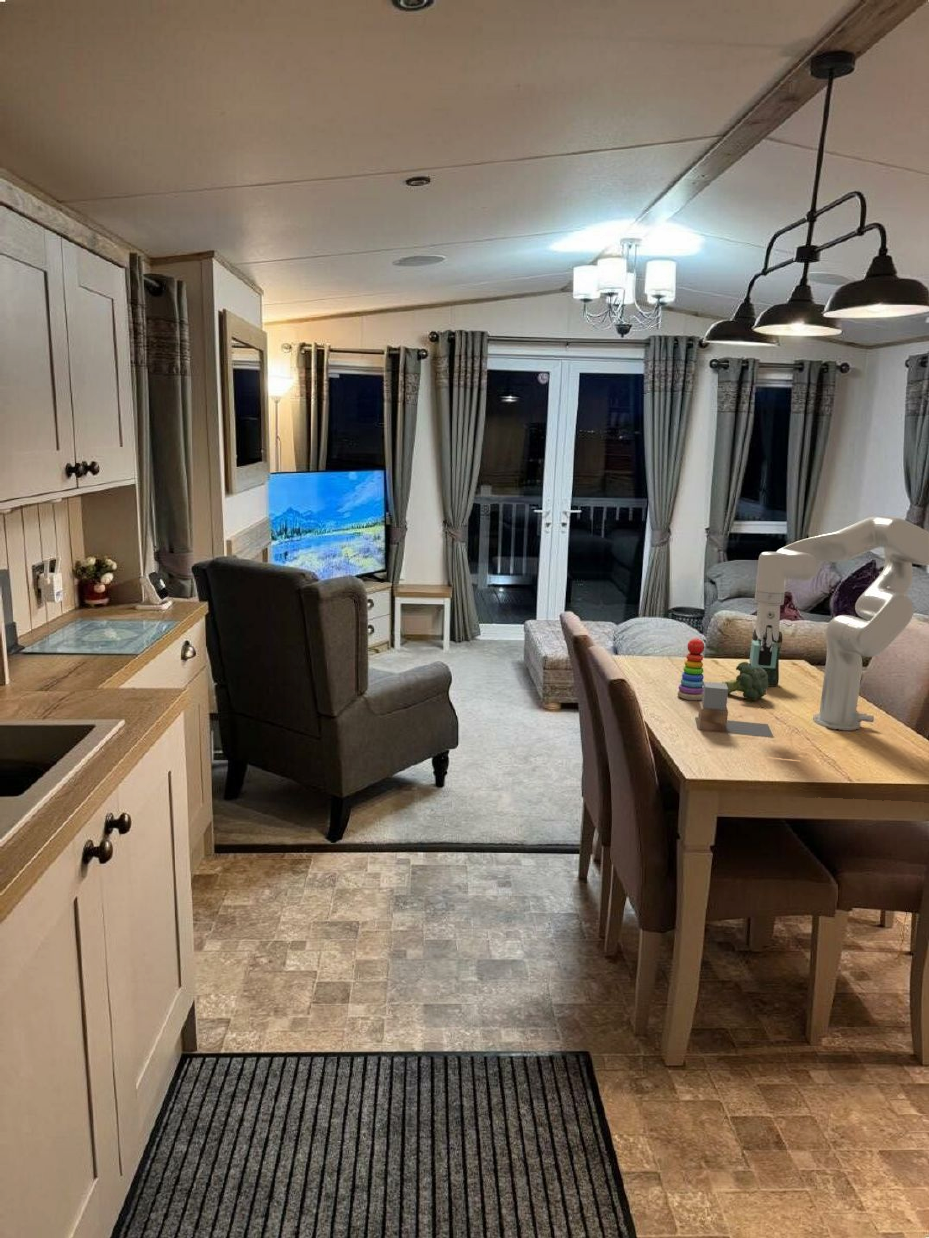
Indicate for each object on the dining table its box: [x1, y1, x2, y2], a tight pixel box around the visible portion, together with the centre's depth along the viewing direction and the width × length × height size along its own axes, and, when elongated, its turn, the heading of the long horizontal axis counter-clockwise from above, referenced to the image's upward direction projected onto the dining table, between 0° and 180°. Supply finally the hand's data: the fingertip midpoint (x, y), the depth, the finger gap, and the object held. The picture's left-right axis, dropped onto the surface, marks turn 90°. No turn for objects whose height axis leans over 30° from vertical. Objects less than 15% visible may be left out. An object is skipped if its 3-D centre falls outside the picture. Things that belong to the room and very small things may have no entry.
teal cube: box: [748, 640, 777, 668], centre depth 236 cm, size 6×6×6 cm
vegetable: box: [721, 661, 769, 702], centre depth 270 cm, size 12×13×15 cm
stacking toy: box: [677, 638, 705, 701], centre depth 266 cm, size 8×8×19 cm
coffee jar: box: [751, 628, 783, 687], centre depth 286 cm, size 10×8×19 cm
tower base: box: [698, 701, 729, 733], centre depth 237 cm, size 7×7×6 cm
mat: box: [694, 716, 775, 739], centre depth 239 cm, size 20×12×1 cm, turn 79°
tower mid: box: [701, 681, 729, 710], centre depth 236 cm, size 6×6×6 cm
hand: (762, 661), depth 236 cm, fingers closed on teal cube, 6 cm apart
